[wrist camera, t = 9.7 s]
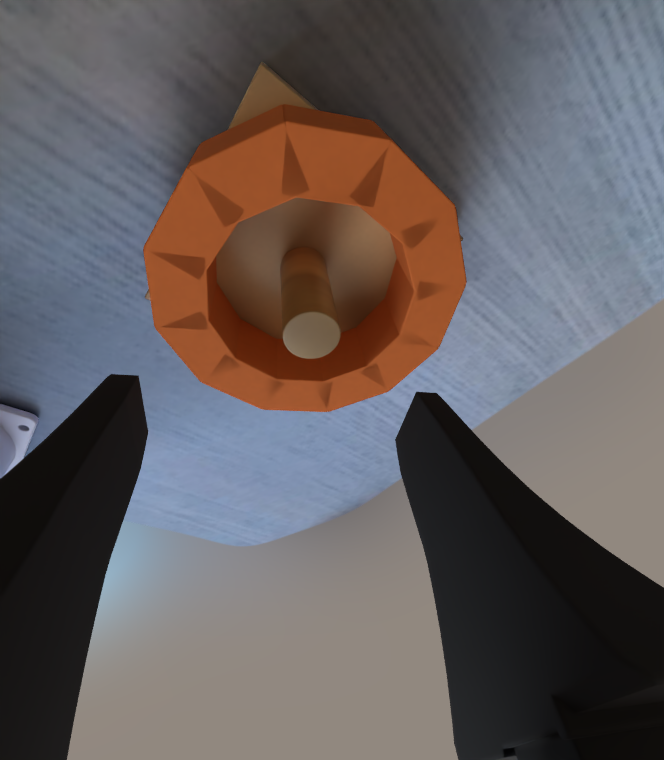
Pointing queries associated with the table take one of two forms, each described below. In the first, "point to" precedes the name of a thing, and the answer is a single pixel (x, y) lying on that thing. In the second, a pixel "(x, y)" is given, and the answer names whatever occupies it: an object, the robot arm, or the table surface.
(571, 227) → the table surface
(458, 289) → the rubber ring
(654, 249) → the table surface
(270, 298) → the peg stand
